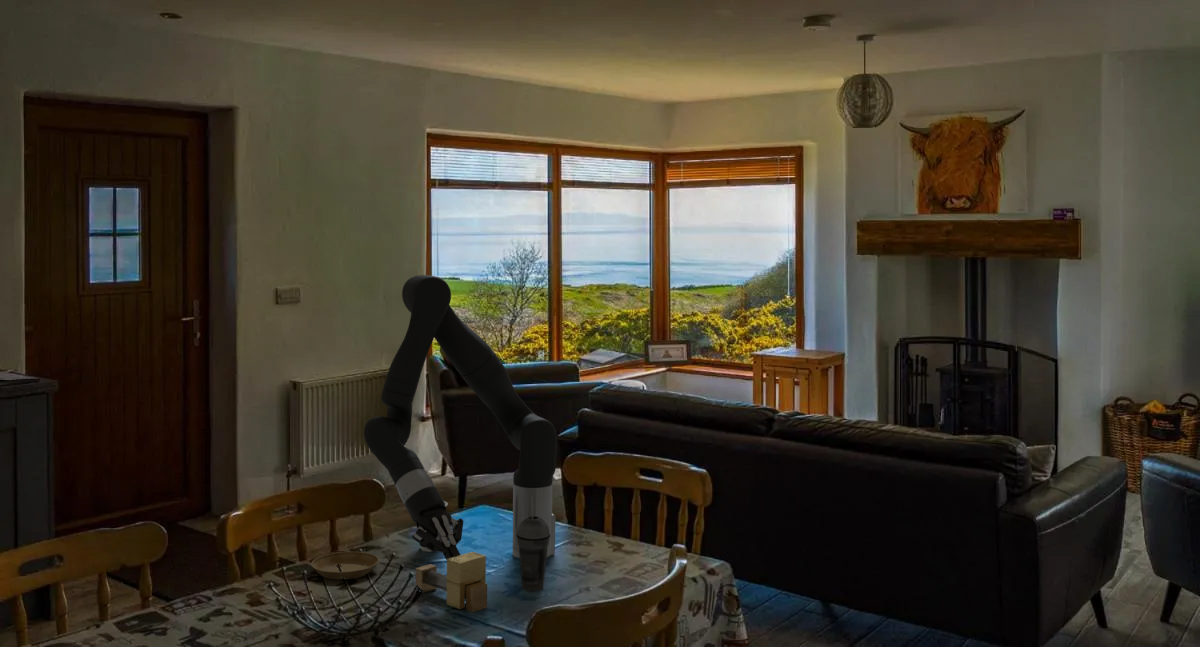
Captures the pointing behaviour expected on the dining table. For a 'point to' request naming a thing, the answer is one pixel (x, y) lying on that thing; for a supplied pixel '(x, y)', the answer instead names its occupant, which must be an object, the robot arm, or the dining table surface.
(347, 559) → the plant saucer
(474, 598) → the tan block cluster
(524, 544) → the beverage cup
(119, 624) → the dining table surface
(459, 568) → the wooden block arch
